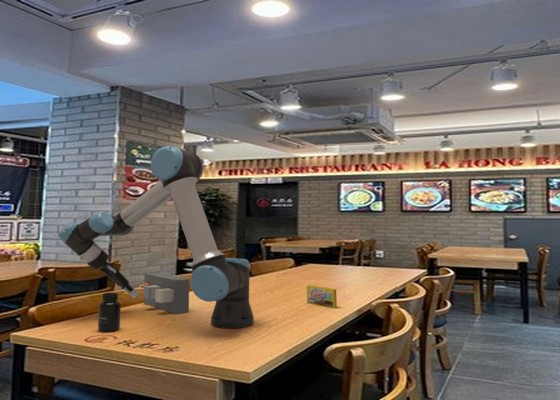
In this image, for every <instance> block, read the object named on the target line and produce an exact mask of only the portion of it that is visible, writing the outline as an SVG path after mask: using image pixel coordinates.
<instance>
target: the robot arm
mask: <svg viewBox="0 0 560 400" xmlns="http://www.w3.org/2000/svg"><path fill="white" fill-rule="evenodd" d="M150 172H151V174H152V176H154V178H156V179H157V180H159V181H158V182H157V183H156V184H154V185H153V186H152V187H151V188H149V189H148V190H147V191H146V192H144V193H142V195H140V196H139V197H138V198H136V199H135V200H134V201H133V202H131V203H130V204H129V205H128V206H126V207H125V208H124V209H122V210H121V211H120V212H118V214H116V215H112V216H111V214H110V213H108V212H106V211H103V210H101V211H98V212H96V213H94V214H91V216H90V217H88V218H86V219H85V220H83V221H81V223H76V222H74V221H70V222H68V223H66V224H65V225H64V226H62V228H61V229H59V231H58V233H57V236H58V238H59V239H60V240H61V241H62V242H63V243H64V244H65V245H66V246H67V247H68V248H70V249H71V250H72V251H73V252H74V253H75V254H76V255H77V256H78V257H80V258H79V260H80V261H82V260H83V261H84V263H87V265H88V266H89V267H90V268H91V269H92V270H98V269H99V270H100V272H102V273H103V274H105V275H106V277H108V279H109V278H110V279H111V281H113V283H114V284H116V285H117V286H119V287H120V288H121V289H122V290H124V291H125V292H126V293H127V294H128V295H129V296H130V297H131V298H132V299H136V298H137V297H138V295H139V294H140V292H139V291H138V290H136V288H135V287H134V286H133V285H131V283H130V281H129V280H128V279H127V278H126V277H125V276H124V275H123V274H122V273H121V271H119V269H118V268H117V267H116V266H114V264H112V263H111V262H108V260H109V256H110V255H109V254H108V253H107V252H106V251H105V250H104V249H102V248H101V246H100V245H99V244H98V243H96V241H94V240H95V239H97V238H99V237H111V236H112V237H113V236H116V237H117V236H121V237H122V236H123V237H124V236H127V235H130V234H131V233H133V231H134V229H135V226H136V225H137V224H139V223H140V222H141V221H142V220H144V219H145V218H147V217H148V216H149V215H150V214H153V212H155V211H156V210H157V209H159V208H160V207H162V205H164V204H166V202H168V201H169V200H170V199H171V200H172V203H173V204H174V208H175V210H176V214H177V216H178V219H179V222H180V224H181V228H182V231H183V233H184V236H185V239H186V243H187V244H188V248H189V250H190V254H191V256H192V259H193V260H192V263H191V264H190V268H191V271H192V274H191V277H190V280H189V284H190V288H191V291H192V293H193V294H194V295H195V296H196V297H197V298H198V299H200V300H202V301H204V302H207V303H208V302H209V303H211V302H215V304H214V308H213V309H212V310H213V311H212V312H211V313H212V314H211V317H210V325H211V326H212V327H216V328H222V329H239V328H246V327H250V326H253V325H254V324H255V319H254V318H255V316H254V313H253V310H252V306H251V303H250V271H251V268H250V261H249V260H248V259H245V258H238V257H237V258H234V257H226V255H225V253H223V252H221V251H219V249H218V246H217V244H216V241H215V239H214V236H213V231H212V230H211V227H210V225H209V222H208V221H209V220H208V219H207V215H206V213H205V210H204V207H203V205H202V201H201V199H200V197H199V193H198V191H197V187H196V183H197V182H198V181H199V180H200V178H201V177H202V176H203V173H204V163H203V161H202V159H201V157H200V156H199V155H197V154H196V153H195V152H193V151H190V150H189V151H188V150H185V149H181V148H179V147H177V146H169V145H167V146H162V147H160V148H159V149H157V150H156V151H155V152H154V154H153V156H152V157H151V160H150Z"/></svg>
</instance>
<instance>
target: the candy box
mask: <svg viewBox="0 0 560 400" xmlns="http://www.w3.org/2000/svg"><path fill="white" fill-rule="evenodd" d="M337 302H338V301H337V288H333V287H326V286H322V285H321V286H320V285H315V284H307V285H306V303H307V304H309V305H313V306H320V307H326V308H328V309H330V308H331V309H338V306H337V305H338V304H337Z"/></svg>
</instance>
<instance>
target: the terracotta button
mask: <svg viewBox="0 0 560 400" xmlns="http://www.w3.org/2000/svg"><path fill="white" fill-rule="evenodd" d="M144 286H150V282H144V281H143V287H144Z"/></svg>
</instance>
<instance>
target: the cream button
mask: <svg viewBox="0 0 560 400" xmlns="http://www.w3.org/2000/svg"><path fill="white" fill-rule="evenodd" d="M155 301H156V302H159V303H165V302H173V301H174V288H166V289H156V290H155Z"/></svg>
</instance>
